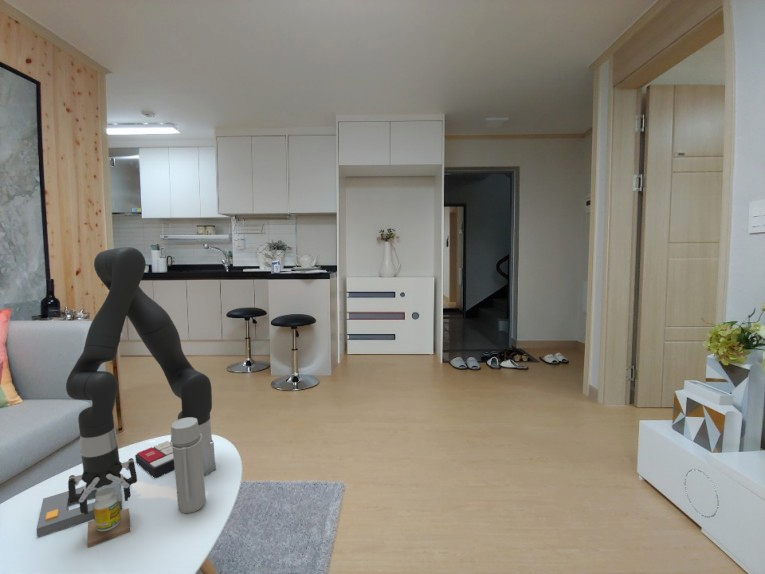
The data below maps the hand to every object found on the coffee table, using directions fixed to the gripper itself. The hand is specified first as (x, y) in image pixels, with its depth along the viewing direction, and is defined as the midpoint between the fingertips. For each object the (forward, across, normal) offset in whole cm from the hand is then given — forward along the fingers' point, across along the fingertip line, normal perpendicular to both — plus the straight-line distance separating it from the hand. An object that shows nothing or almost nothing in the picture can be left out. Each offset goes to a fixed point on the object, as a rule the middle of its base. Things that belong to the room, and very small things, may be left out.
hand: (106, 505), depth 103 cm
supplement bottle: (+6, 0, 0) cm, 6 cm away
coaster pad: (+7, 0, 0) cm, 7 cm away
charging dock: (+7, +6, -14) cm, 17 cm away
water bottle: (+7, -19, +4) cm, 21 cm away
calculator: (+7, -15, -26) cm, 31 cm away
